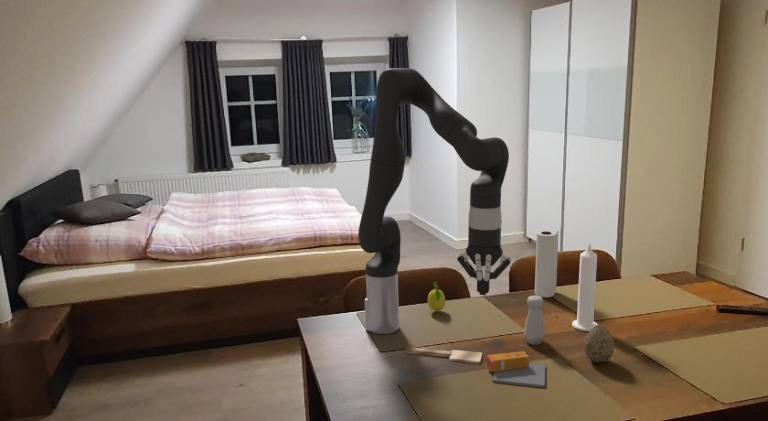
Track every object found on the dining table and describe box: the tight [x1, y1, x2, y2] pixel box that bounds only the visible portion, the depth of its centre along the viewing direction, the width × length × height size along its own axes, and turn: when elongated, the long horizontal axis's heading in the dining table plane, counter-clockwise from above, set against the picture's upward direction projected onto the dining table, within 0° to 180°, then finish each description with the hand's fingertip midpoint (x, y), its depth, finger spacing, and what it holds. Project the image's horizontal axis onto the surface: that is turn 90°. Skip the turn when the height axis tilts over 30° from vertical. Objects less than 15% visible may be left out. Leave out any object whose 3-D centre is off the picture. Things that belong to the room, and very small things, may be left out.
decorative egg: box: [583, 324, 615, 364], centre depth 146 cm, size 7×7×10 cm
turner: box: [405, 346, 483, 365], centre depth 153 cm, size 20×5×1 cm, turn 74°
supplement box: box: [486, 351, 530, 373], centre depth 144 cm, size 3×3×10 cm
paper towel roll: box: [534, 230, 559, 298], centre depth 190 cm, size 7×6×21 cm
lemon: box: [427, 281, 446, 313], centre depth 180 cm, size 7×6×10 cm
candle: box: [571, 243, 599, 332], centre depth 165 cm, size 7×7×25 cm
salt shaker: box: [523, 295, 546, 346], centre depth 158 cm, size 6×6×13 cm
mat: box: [492, 362, 546, 388], centre depth 142 cm, size 12×10×1 cm
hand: (483, 293), depth 139 cm, fingers closed
